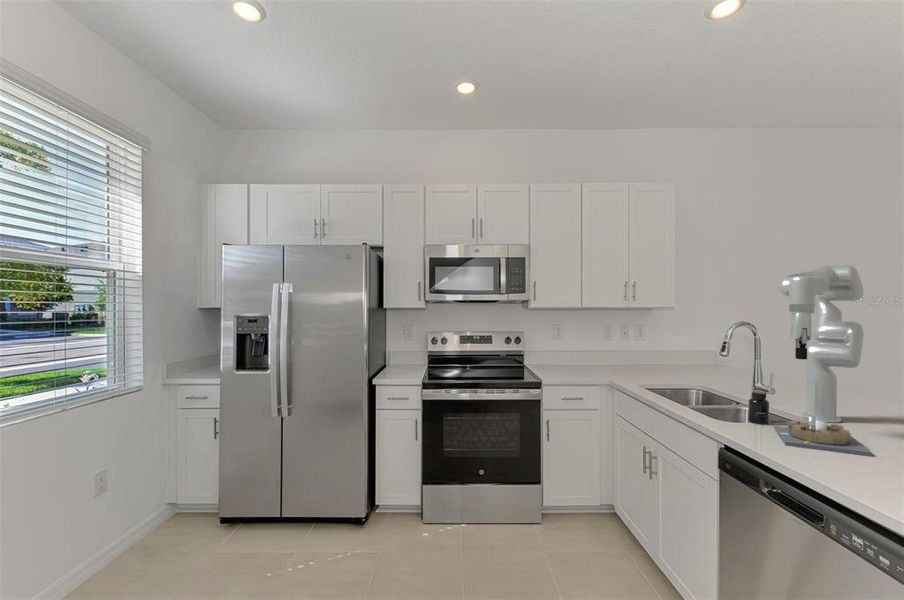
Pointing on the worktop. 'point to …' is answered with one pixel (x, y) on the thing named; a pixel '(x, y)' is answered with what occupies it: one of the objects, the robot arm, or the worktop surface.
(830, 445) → the nut base
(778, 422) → the worktop surface
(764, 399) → the supplement bottle
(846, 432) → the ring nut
